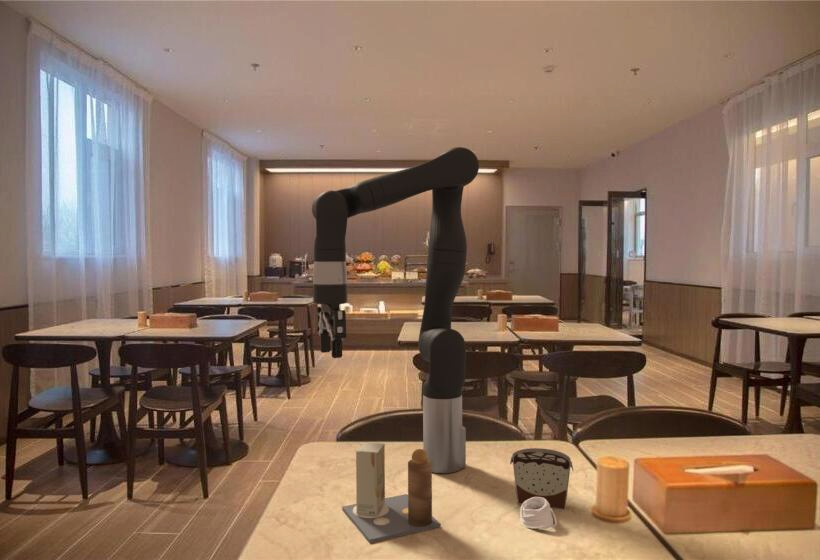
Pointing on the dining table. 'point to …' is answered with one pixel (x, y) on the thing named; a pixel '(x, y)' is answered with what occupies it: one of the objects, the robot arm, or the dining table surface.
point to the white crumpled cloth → (537, 514)
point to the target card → (386, 520)
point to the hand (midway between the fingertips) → (330, 354)
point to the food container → (542, 475)
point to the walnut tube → (420, 489)
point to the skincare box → (370, 478)
